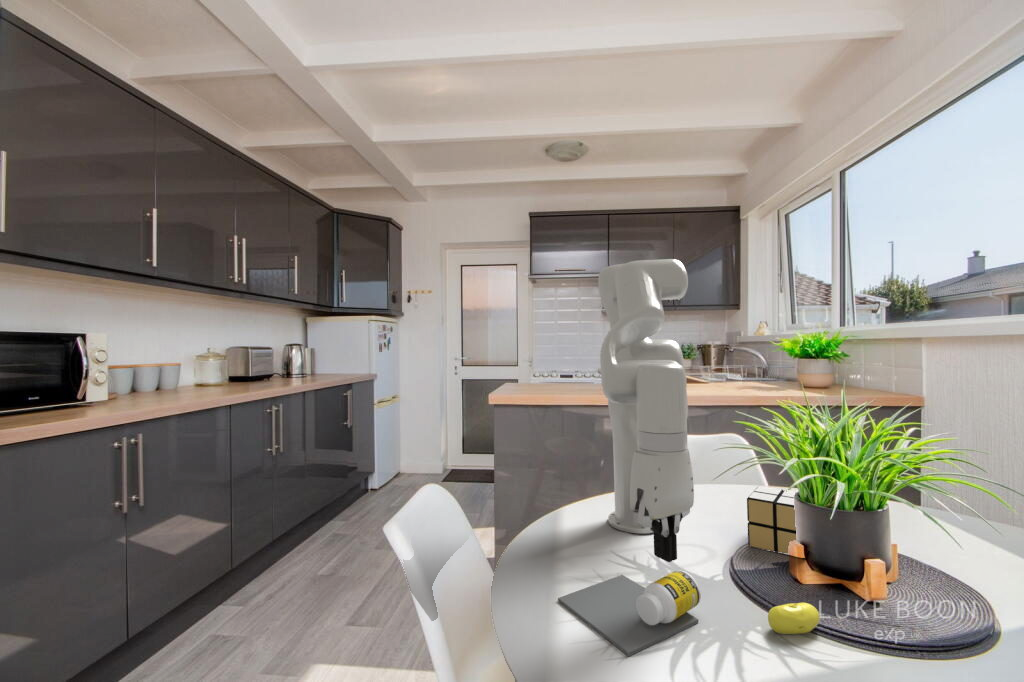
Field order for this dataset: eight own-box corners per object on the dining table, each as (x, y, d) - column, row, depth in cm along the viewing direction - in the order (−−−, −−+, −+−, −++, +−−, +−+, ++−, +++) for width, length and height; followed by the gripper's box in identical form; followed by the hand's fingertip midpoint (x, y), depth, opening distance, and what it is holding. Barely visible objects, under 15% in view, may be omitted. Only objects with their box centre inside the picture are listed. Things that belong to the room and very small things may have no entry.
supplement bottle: (704, 582, 71) (666, 606, 65) (698, 613, 72) (659, 640, 66) (673, 561, 75) (634, 583, 69) (668, 591, 76) (629, 615, 70)
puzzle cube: (759, 531, 102) (757, 485, 102) (813, 542, 96) (812, 493, 96) (747, 547, 94) (746, 497, 94) (806, 560, 88) (804, 507, 88)
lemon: (759, 625, 69) (759, 598, 69) (808, 619, 70) (808, 592, 70) (780, 643, 64) (779, 615, 64) (831, 636, 66) (831, 608, 66)
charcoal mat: (622, 577, 83) (622, 574, 83) (698, 622, 69) (698, 619, 69) (558, 601, 76) (558, 597, 76) (628, 656, 62) (628, 652, 62)
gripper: (675, 432, 81) (678, 538, 81) (610, 443, 73) (613, 560, 73) (713, 439, 75) (716, 554, 74) (646, 452, 67) (650, 581, 67)
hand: (665, 557), depth 74 cm, fingers closed
